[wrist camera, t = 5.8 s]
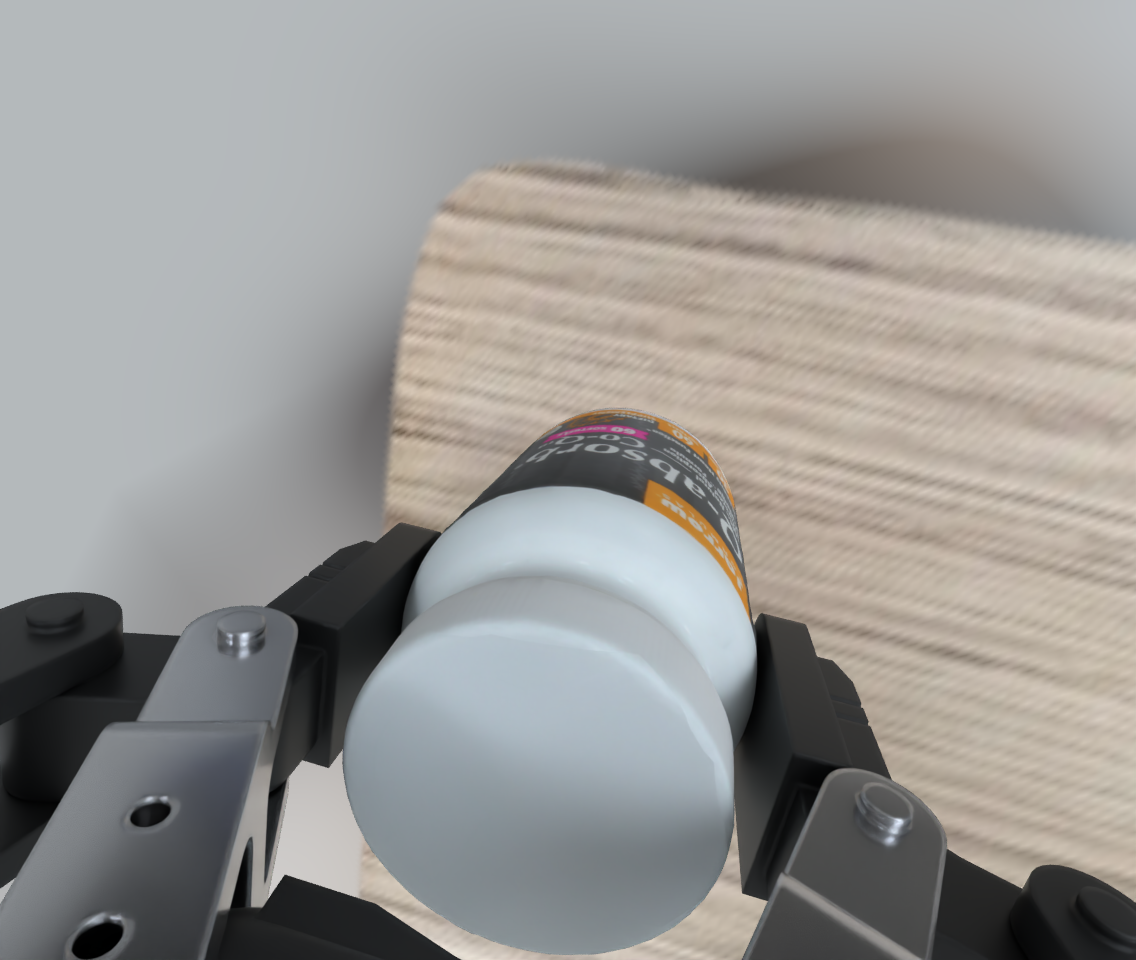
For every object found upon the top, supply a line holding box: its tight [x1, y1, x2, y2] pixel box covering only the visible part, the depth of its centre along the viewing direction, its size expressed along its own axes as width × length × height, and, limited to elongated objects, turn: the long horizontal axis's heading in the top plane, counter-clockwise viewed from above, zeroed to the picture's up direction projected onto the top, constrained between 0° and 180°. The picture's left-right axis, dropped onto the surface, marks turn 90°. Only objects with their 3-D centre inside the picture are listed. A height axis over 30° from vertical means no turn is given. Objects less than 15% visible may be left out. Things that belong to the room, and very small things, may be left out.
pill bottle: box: [343, 408, 757, 955], centre depth 12 cm, size 6×6×10 cm
